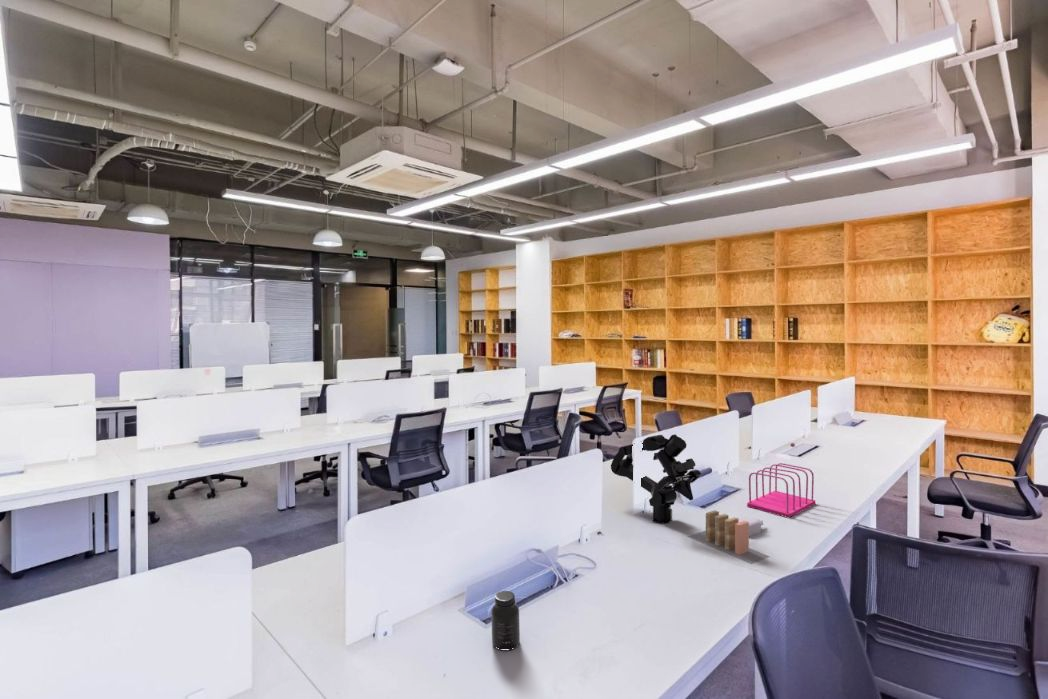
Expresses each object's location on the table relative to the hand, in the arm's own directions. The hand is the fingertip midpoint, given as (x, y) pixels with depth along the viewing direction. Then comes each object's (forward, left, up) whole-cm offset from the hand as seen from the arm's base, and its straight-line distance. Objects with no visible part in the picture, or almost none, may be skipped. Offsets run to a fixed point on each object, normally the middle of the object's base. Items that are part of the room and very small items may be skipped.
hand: (692, 499), depth 192 cm
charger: (+18, +13, -13) cm, 25 cm away
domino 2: (+11, -7, -12) cm, 18 cm away
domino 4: (+18, -11, -12) cm, 24 cm away
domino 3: (+15, -9, -12) cm, 21 cm away
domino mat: (+13, -8, -13) cm, 20 cm away
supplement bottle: (-27, -90, -13) cm, 94 cm away
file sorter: (+28, +47, -13) cm, 56 cm away
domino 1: (+8, -5, -12) cm, 15 cm away
